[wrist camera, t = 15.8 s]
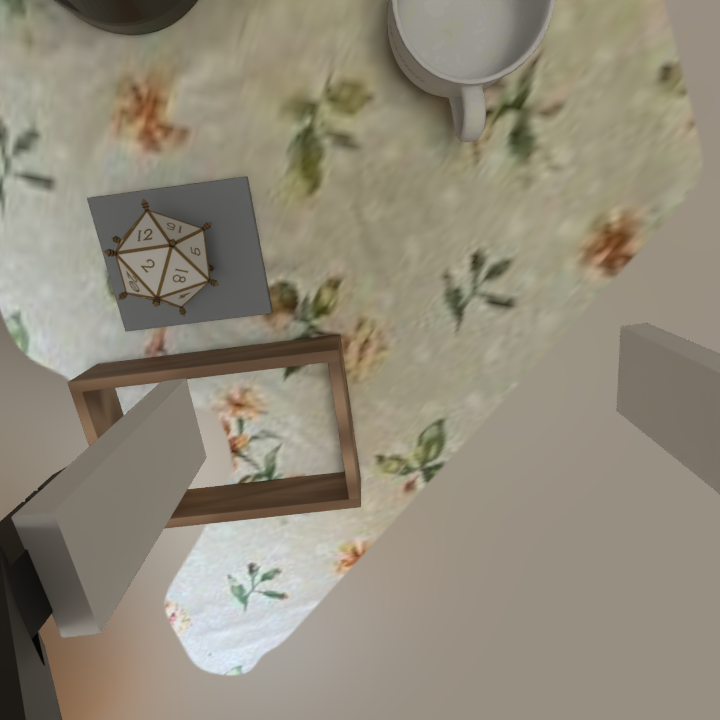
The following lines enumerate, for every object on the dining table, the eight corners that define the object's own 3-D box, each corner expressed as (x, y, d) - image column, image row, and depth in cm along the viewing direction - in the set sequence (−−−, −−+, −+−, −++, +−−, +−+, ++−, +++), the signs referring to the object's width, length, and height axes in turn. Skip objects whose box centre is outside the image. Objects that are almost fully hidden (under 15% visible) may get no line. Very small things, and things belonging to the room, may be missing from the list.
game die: (208, 269, 47) (197, 351, 41) (113, 241, 43) (86, 327, 37) (236, 200, 41) (228, 285, 35) (128, 159, 37) (99, 248, 31)
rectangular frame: (97, 364, 47) (67, 382, 42) (340, 334, 46) (337, 349, 41) (141, 502, 52) (118, 533, 47) (360, 478, 51) (360, 507, 46)
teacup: (392, -58, 36) (401, -128, 28) (533, -42, 36) (579, -106, 29) (373, 141, 40) (376, 127, 33) (499, 155, 41) (531, 144, 33)
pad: (90, 198, 42) (86, 198, 41) (247, 177, 41) (245, 176, 41) (128, 329, 45) (125, 331, 45) (272, 311, 45) (271, 313, 44)
